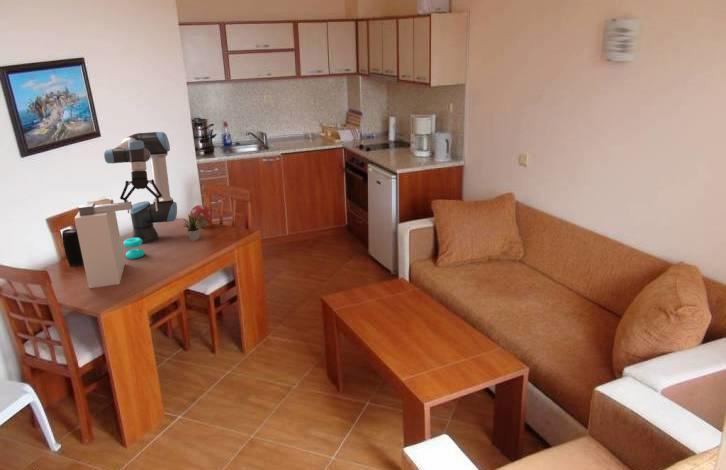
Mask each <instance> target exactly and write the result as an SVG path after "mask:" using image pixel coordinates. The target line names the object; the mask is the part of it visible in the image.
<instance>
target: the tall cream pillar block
mask: <svg viewBox="0 0 726 470" xmlns="http://www.w3.org/2000/svg"><path fill="white" fill-rule="evenodd" d="M86 203H95V205H103V204H112V203H115V201H114V200H113V199H105V200H95V201H94V200H93V201H87V202H86ZM116 212H117V211H111V212H102V213H94V214H93V215H84V216H80V213H79V211H78V212H77V214H76V215H75V216H74V224H75V229H77V234H78V239H79V243H80V248H81V253H82V258H83V262H84V263H83V266H84V271H85V276H86V281H87V286H88V288H89V289H95V288H101V287H107V286H115V285H120V283H121V280H122V276H123V273H124V268H125V265H126V262H125V257H124V255H125V254H124V251H123V246H122V245H123V244H122V240H121V235H120V230H119V225H118V219H117V213H116Z"/></svg>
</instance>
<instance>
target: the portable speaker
mask: <svg viewBox="0 0 726 470" xmlns="http://www.w3.org/2000/svg"><path fill="white" fill-rule="evenodd" d="M62 244H63V250H64V254H65V257H66V260H67V262H68V263H67V264H68V265H70V267H72V266H74V267H79V266H78V265H80V266H82V264H83V265H84V262H83V258H82V253H81V248H80V243H79V239H78V234H77V229H76V228H72V229H71V228H67V229H64V230H62Z"/></svg>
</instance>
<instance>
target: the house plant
mask: <svg viewBox="0 0 726 470" xmlns="http://www.w3.org/2000/svg"><path fill="white" fill-rule="evenodd" d="M190 214H191V213H189V214H188V221H189V222H188V221H187V219H185V218H182V217H181V219H182V220H184V221H185V222H184V224H185V225H183V227H185V228H187V235H188V237H189V240H190V241H192V240H195V241H197V240H196V239H198V240H199V239H200V227H199V228H198V226H199V225H197V224H198V223H197V222H196V221H197V220H198V218H199V217H200V216H202V215H200V216H199V217H198V218H197V215H198V214H197V215H196V216H195V219H194V217H193V216H192V214H191V216H190ZM191 217H192V218H191ZM196 218H197V219H196ZM200 219H201V218H200ZM200 219H199V220H200ZM199 220H198V221H199ZM199 223H200V222H199ZM201 223H202V222H201Z"/></svg>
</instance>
